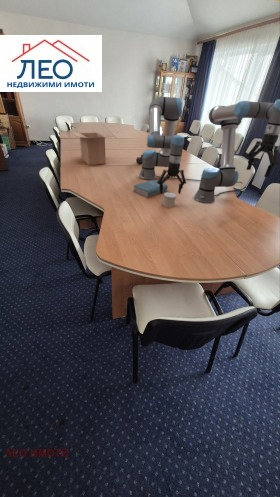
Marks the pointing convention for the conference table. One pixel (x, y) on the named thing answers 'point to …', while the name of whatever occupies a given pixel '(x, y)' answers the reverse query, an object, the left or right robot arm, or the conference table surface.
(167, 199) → the canister
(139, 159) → the laser sight
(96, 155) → the box
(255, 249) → the conference table surface
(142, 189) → the book
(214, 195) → the right robot arm
